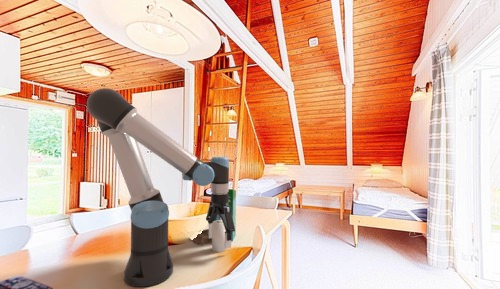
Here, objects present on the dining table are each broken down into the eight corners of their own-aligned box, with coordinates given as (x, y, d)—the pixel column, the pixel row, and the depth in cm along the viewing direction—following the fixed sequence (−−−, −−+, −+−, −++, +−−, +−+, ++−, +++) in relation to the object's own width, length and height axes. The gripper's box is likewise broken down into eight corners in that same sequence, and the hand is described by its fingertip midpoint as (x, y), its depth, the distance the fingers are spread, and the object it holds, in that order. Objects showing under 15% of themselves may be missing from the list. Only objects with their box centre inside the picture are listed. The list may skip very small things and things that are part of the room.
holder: (198, 245, 109) (198, 239, 109) (188, 238, 117) (188, 232, 117) (224, 238, 118) (224, 232, 118) (214, 232, 125) (214, 227, 126)
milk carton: (235, 235, 123) (236, 185, 123) (232, 242, 114) (233, 189, 114) (218, 234, 124) (218, 185, 124) (213, 241, 115) (214, 188, 115)
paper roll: (216, 254, 100) (217, 224, 100) (209, 249, 105) (209, 220, 105) (228, 250, 104) (229, 221, 104) (221, 246, 108) (221, 218, 108)
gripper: (244, 196, 97) (243, 250, 97) (213, 187, 117) (212, 232, 116) (228, 199, 92) (227, 255, 92) (198, 189, 112) (198, 235, 112)
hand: (219, 242), depth 104 cm, fingers open, 13 cm apart
